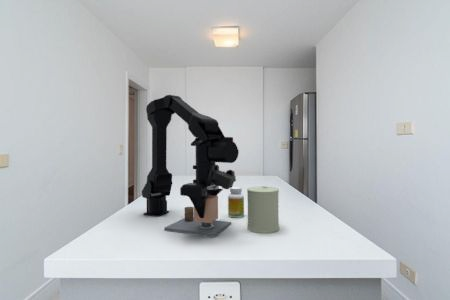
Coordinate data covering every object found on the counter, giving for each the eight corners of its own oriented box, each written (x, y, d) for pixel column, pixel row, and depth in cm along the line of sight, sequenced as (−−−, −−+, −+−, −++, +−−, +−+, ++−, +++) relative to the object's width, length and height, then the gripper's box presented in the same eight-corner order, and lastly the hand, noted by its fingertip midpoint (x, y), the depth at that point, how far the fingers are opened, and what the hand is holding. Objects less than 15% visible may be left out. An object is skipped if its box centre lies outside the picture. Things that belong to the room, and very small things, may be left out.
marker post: (195, 228, 75) (195, 205, 75) (203, 223, 79) (202, 202, 79) (209, 229, 73) (209, 206, 73) (216, 225, 77) (216, 203, 77)
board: (164, 230, 75) (164, 227, 75) (185, 219, 87) (185, 217, 87) (214, 237, 69) (214, 234, 69) (231, 224, 80) (231, 222, 80)
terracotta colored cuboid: (193, 221, 75) (193, 198, 74) (202, 216, 79) (202, 194, 79) (210, 223, 73) (210, 199, 72) (218, 218, 77) (217, 195, 77)
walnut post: (182, 221, 82) (182, 208, 82) (187, 218, 84) (187, 206, 84) (190, 222, 81) (190, 209, 81) (195, 219, 83) (195, 207, 83)
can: (281, 225, 80) (280, 185, 79) (276, 234, 71) (276, 190, 71) (251, 222, 83) (251, 184, 82) (243, 231, 74) (243, 189, 74)
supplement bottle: (242, 218, 87) (242, 189, 87) (226, 217, 88) (226, 188, 88) (244, 214, 93) (244, 186, 92) (229, 213, 94) (229, 186, 94)
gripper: (218, 164, 64) (218, 228, 64) (242, 160, 81) (242, 210, 81) (178, 163, 68) (179, 223, 68) (209, 159, 85) (210, 207, 86)
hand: (206, 215), depth 76 cm, fingers closed on terracotta colored cuboid, 5 cm apart
